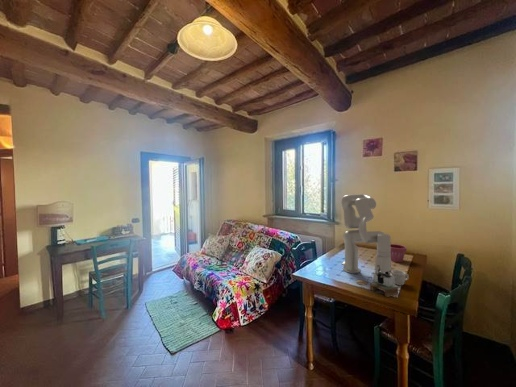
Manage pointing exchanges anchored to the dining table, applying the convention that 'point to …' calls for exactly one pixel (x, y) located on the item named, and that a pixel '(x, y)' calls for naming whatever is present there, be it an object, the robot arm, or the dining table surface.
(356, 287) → the dining table surface
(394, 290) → the stand
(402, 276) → the cup
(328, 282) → the dining table surface
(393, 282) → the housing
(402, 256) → the plant pot
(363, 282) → the coaster
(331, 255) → the dining table surface
